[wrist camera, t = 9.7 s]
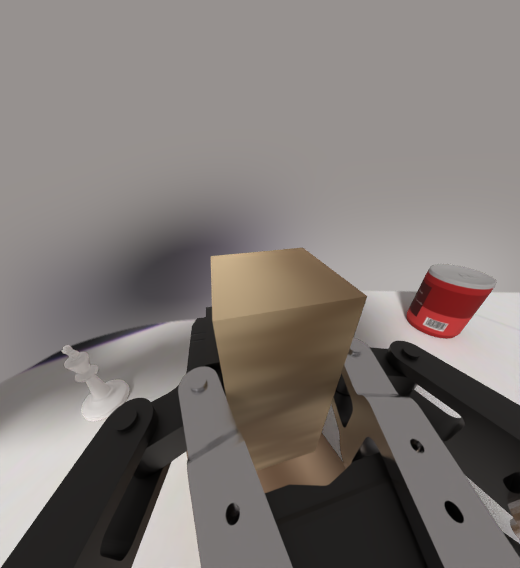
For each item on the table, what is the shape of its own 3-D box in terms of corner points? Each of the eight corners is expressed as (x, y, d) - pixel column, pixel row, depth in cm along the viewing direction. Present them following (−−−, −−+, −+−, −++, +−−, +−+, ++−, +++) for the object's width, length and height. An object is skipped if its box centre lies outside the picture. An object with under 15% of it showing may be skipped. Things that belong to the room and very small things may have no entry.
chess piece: (110, 377, 27) (75, 325, 22) (138, 386, 25) (107, 334, 20) (72, 414, 23) (17, 361, 17) (103, 427, 21) (54, 373, 16)
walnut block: (234, 660, 11) (225, 679, 9) (193, 454, 19) (183, 433, 17) (354, 517, 16) (371, 502, 13) (280, 400, 24) (282, 376, 22)
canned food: (470, 339, 32) (514, 285, 27) (424, 340, 32) (458, 285, 27) (434, 311, 39) (463, 263, 33) (396, 312, 39) (418, 263, 33)
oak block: (240, 475, 9) (212, 321, 4) (232, 395, 13) (210, 256, 7) (315, 451, 10) (367, 296, 5) (288, 381, 13) (302, 247, 8)
